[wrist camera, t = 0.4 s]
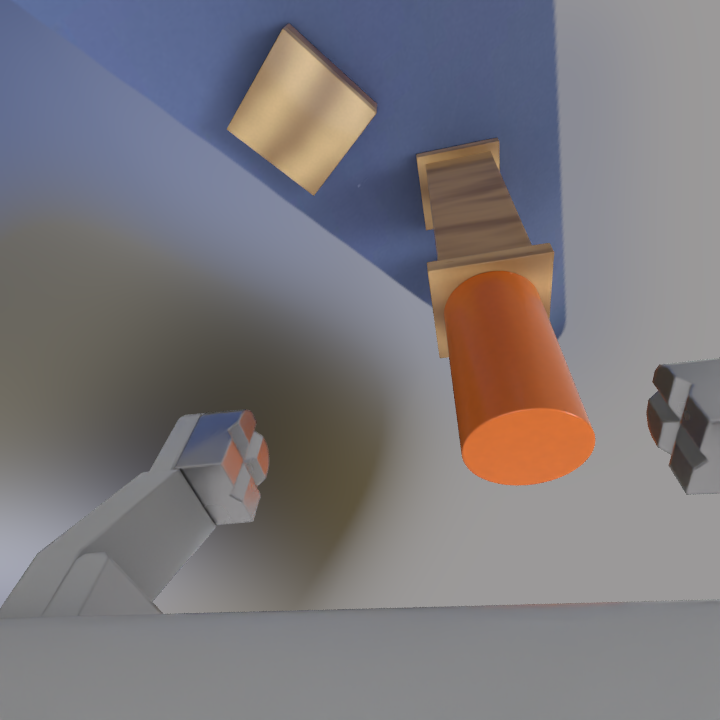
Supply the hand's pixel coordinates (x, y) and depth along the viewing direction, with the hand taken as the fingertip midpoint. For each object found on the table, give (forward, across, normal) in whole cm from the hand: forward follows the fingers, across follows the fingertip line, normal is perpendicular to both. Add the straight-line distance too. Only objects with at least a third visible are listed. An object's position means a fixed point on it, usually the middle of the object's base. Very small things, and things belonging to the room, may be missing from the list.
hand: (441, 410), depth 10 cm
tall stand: (+44, -4, +9) cm, 45 cm away
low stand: (+42, +10, -1) cm, 44 cm away
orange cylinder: (+22, -4, +11) cm, 25 cm away
